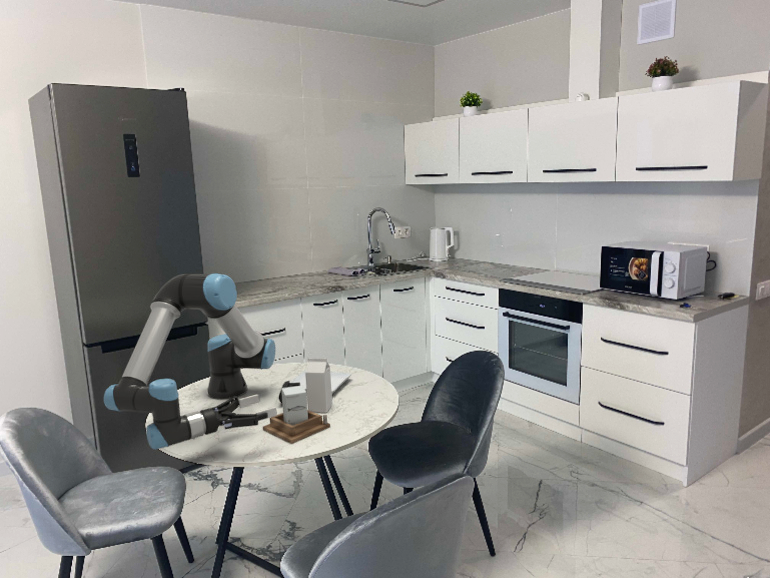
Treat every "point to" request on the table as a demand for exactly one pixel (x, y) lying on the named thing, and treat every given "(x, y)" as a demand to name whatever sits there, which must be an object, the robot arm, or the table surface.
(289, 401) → the supplement box
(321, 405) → the milk carton
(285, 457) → the table surface
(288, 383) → the end cap
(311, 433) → the jig
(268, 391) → the table surface
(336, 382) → the salad plate
